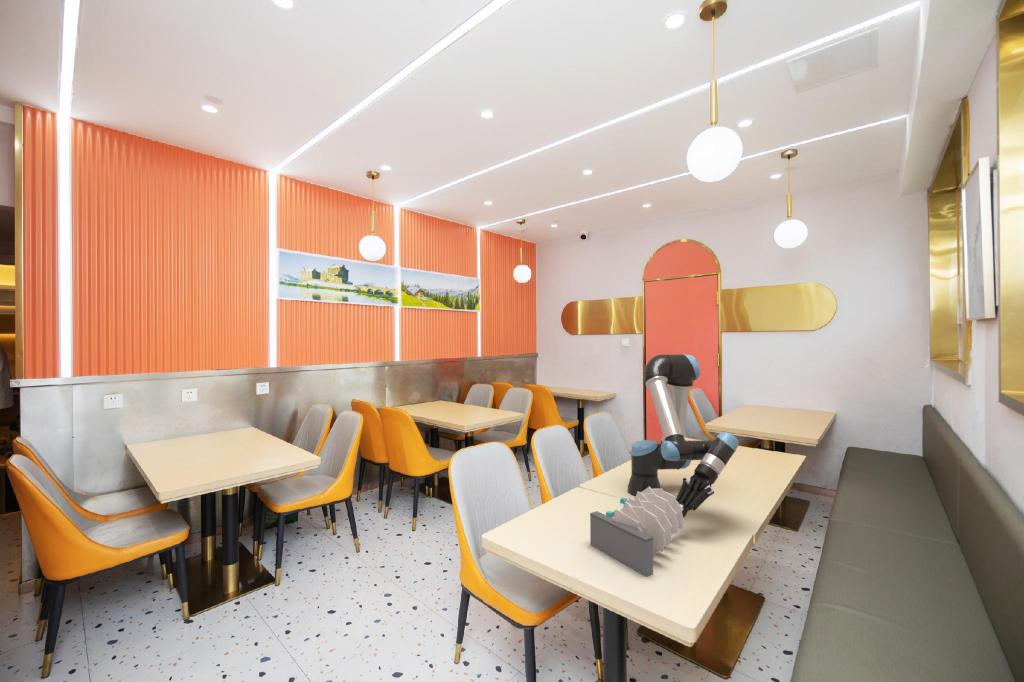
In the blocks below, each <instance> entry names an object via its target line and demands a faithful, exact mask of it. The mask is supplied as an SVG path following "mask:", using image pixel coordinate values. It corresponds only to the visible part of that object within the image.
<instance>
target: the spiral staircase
mask: <svg viewBox="0 0 1024 682" xmlns="http://www.w3.org/2000/svg"><path fill="white" fill-rule="evenodd" d="M676 498H677V496H675V495H673V494H671V493H669V492H667V491H665V490H664V488H662V489H651V488H650V486H649V487H648V488H647V489H645V490H644V491H642V492H637V495H636V496H634V497H633V498H631V497H629V498H628V501H629V502H628V503H627V502H625V504H623V506H622V508H621V509H618V508H616V509H615V510H616V511H615V510H614V511H615V513H614V516H613V517H612V518H613V519H612V520H613V521H615V522H618V523H621V524H625V525H628V526H630V527H632V528H634V529H636V530H639V531H641V532H643V533H645V534H647V535H649V536H651V537H653V558H654V557H655V556H656V555H657V554H658V553H659V552H660V553H664V550H665V549H664V548H665V547H666V546H667V547H669V545H670V542H672V541H673V540H672V539H673V538H672V536H673V535H674V534H675V535H678V529H680V530H682V529H683V525H684V524H685V520H684V517H683V515H682V511H683V508H682V507H681V506H680V505H679V503H678V502H677V501H676Z"/></svg>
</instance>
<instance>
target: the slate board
mask: <svg viewBox="0 0 1024 682" xmlns="http://www.w3.org/2000/svg"><path fill="white" fill-rule="evenodd" d="M589 516H590V517H589V518H590V521H589V522H590V528H589V529H590V531H589V532H590V544H589V545H590V546H592V547H594V548H595V549H597V550H599V551H601V552H602V553H604V554H606V555H608V556H609V557H610V558H613V559H615V560H616V561H618V562H620V563H622V564H623V565H625V566H626V567H628V568H630V569H632V570H634V571H636V572H638V573H639V574H641V575H643V576H644V577H649V576H651V575H653V574H654V557H653V537H651V536H649V535H647V534H645V533H643V532H641V531H639V530H636V529H634V528H632V527H630V526H628V525H625V524H621V523H618V522H615V521H613V520H612V519H613V517H612V518H611V517H608V516H606V514H603V513H602V512H600V511H594V512H593V511H592V512H589Z"/></svg>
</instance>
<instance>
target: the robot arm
mask: <svg viewBox="0 0 1024 682" xmlns="http://www.w3.org/2000/svg"><path fill="white" fill-rule="evenodd" d="M700 370H701V369H700V365H699V362H698V360H697V358H696V357H695V356H693V355H691V354H685V353H682V354H681V353H679V354H676V353H675V354H657V355H655V356H652V357H651V358H650V359H649V360H648V361H647V364H645V368H644V371H643V379H644V383H645V387H646V388H648V389H649V392H650V396H651V399H652V401H653V402H652V403H653V407H654V410H655V412H656V416H657V420H658V422H659V426H660V429H661V433H662V437H661V439H660V443H658V442H657V441H656V440H652V439H644V440H643V439H642V440H638V441H635V442H633V443H632V444H631V451H630V454H631V455H630V457H631V459H630V460H631V464H630V465H631V474H630V478H629V481H628V484H627V493H629V494H630V495H633V496H634V497H636V495H637V492H642V491H644V490H645V489H647V488H648V487H649V486H650V488H651V489H663V488H662V487H661V483H660V480H659V476H658V475H659V473H658V472H659V470H661V471H663V470H681V469H683V470H684V469H686V468H689V466H690V465H691V463H692V461H699V463H698V464H697V466H696V467H695V468H694V471H693V472H694V473H693V474H692V475H691V476H690V477H689V478H686V477H683V479H682V483H681V486H680V489H679V491H678V494H677V495H676V498H675V499H676V501H677V502H678V503H679V505H680V506H681V507H682V508H683V511H682V515H683V518H685V517H686V515H688V513H689V511H693V512H695V511H696V510H697V509H698V508H699V507H700V506H701V505H702V504H703V503H704V502H705V501H706V500H707V499H708V498H709V497H710V496H713V495H714V494H715V492H714V490H713V489H712V485H713V484H715V483H716V481H717V480H718V478H719V475H720V474H722V472H723V470H724V468H726V466H727V464H728V463H729V461H730V459H731V458H732V456H733V455H734V454H735V452H736V451H737V448H738V447H739V445H740V441H739V440H738V439H737V437H736V436H734V435H733V434H731V433H729V432H726V431H720V432H719V434H718V435H717V436H716V437H715V438H713V439H703V440H701V439H699V440H687V439H685V436H686V424H687V423H686V422H687V413H688V401H689V391H690V389H691V388H692V387H693V385H694V381H697V380H698V379H699V378H700V374H701V371H700Z"/></svg>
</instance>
